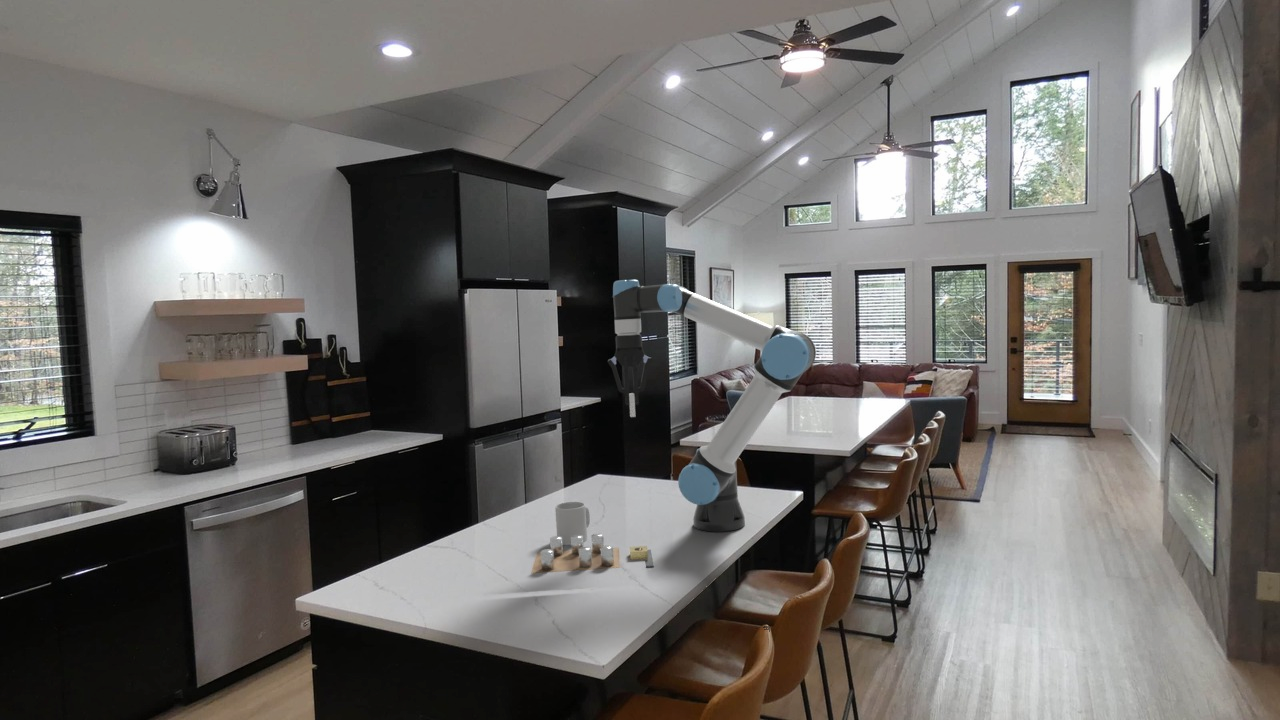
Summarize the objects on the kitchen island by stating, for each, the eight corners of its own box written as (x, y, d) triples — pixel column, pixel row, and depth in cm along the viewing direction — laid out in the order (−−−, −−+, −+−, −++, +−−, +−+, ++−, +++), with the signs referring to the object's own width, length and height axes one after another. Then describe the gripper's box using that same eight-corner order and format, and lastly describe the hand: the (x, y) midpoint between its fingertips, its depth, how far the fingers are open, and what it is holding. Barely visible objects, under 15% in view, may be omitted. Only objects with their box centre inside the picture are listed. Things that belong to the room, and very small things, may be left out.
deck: (619, 551, 203) (618, 547, 203) (619, 571, 187) (619, 567, 187) (537, 556, 202) (537, 552, 202) (531, 577, 186) (531, 573, 186)
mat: (650, 550, 202) (650, 549, 202) (653, 567, 189) (653, 565, 189) (621, 552, 202) (620, 551, 202) (621, 569, 189) (621, 567, 189)
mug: (574, 550, 206) (572, 510, 206) (551, 546, 211) (548, 507, 211) (601, 538, 216) (599, 500, 216) (578, 534, 221) (575, 497, 220)
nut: (647, 555, 197) (646, 545, 197) (648, 560, 193) (647, 550, 193) (630, 556, 197) (629, 546, 197) (630, 561, 193) (630, 552, 193)
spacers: (613, 549, 202) (612, 532, 202) (614, 566, 188) (613, 548, 188) (545, 553, 202) (544, 536, 201) (541, 571, 187) (540, 553, 187)
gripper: (650, 332, 219) (654, 413, 220) (605, 335, 218) (610, 415, 220) (651, 333, 211) (656, 416, 213) (605, 335, 211) (610, 419, 212)
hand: (632, 416), depth 216 cm, fingers closed
